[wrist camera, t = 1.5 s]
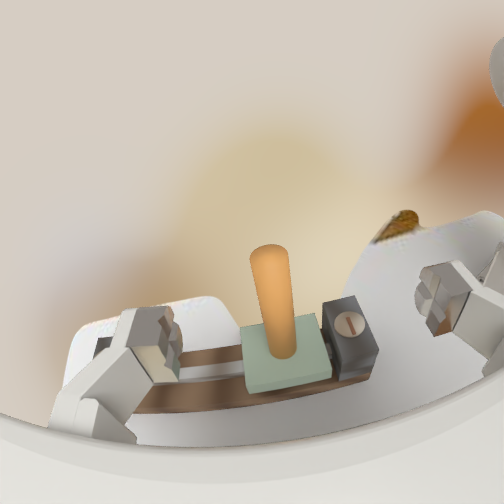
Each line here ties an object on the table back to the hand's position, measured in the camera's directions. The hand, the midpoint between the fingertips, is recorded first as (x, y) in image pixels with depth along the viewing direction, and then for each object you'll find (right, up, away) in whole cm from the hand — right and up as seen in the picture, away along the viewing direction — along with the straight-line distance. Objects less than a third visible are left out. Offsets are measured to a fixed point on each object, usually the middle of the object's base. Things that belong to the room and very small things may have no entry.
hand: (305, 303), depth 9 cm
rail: (-4, -15, +25) cm, 29 cm away
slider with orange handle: (+2, -11, +23) cm, 25 cm away
